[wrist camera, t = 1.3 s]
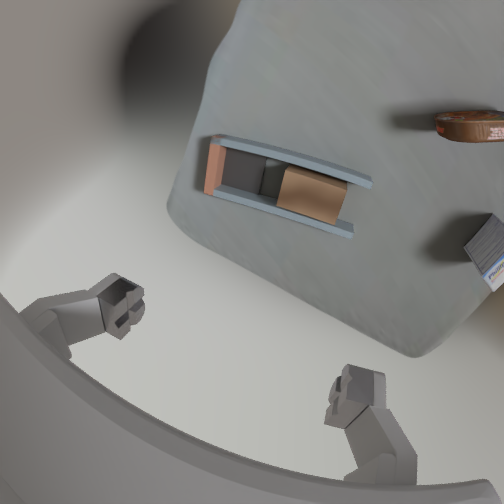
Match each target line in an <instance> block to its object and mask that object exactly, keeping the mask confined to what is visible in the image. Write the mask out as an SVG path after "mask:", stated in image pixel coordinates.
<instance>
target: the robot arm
mask: <svg viewBox="0 0 504 504" xmlns="http://www.w3.org/2000/svg"><path fill="white" fill-rule="evenodd" d="M143 296H144V289H143V288H142V287H141V286H139V285H137V284H135V283H133V282H131V281H129V280H127V279H125V278H124V277H121V276H120V275H118V274H116V273H112V274H110V275H108V276H107V277H105V278H104V279H103V280H101V281H100V282H99V283H97V284H96V285H94V286H93V287H92V288H90V289H89V290H88V291H86V290H80V291H75V292H70V293H65V294H59V295H54V296H49V297H44V298H39V299H37V300H36V301H34V302H33V303H32V304H31V305H29V306H28V307H26V308H25V309H24V310H22V311H21V312H20V313H18V312H17V311H16V310H15V309H14V308H13V307H12V306H11V304H10V303H9V302H8V301H7V300H6V299H5V298H4V297H3V295H2V294H1V293H0V504H502V503H501V500H500V498H499V496H498V494H497V492H496V490H495V489H494V487H493V485H492V484H491V483H490V482H489V480H487V479H479V480H472V481H467V482H459V483H448V484H436V485H416V483H417V454H416V452H415V450H414V449H413V447H412V445H411V444H410V442H409V440H408V439H407V437H406V435H405V434H404V433H403V431H402V429H401V427H400V426H399V424H398V422H397V421H396V419H395V417H394V416H393V414H392V413H391V411H390V409H386V378H385V374H384V373H381V372H377V371H373V370H369V369H365V368H361V367H357V366H353V365H350V364H347V365H346V366H345V367H344V368H343V370H342V376H339V377H337V378H336V380H335V382H334V383H333V385H332V388H331V390H330V394H329V402H330V404H331V405H330V406H329V407H328V409H327V410H326V416H325V422H324V424H326V425H330V426H334V427H338V428H341V429H345V430H344V431H345V434H346V436H347V439H348V442H349V444H350V447H351V450H352V453H353V455H354V458H355V461H356V463H357V466H358V469H356V470H355V471H353V472H351V473H349V474H348V475H346V476H345V477H344V481H342V480H335V479H329V478H323V477H318V476H313V475H307V474H303V473H299V472H294V471H290V470H287V469H283V468H279V467H275V466H272V465H268V464H265V463H261V462H258V461H255V460H252V459H249V458H246V457H243V456H240V455H238V454H235V453H232V452H229V451H227V450H224V449H222V448H219V447H217V446H214V445H212V444H209V443H207V442H205V441H202V440H200V439H197V438H195V437H193V436H191V435H189V434H187V433H184V432H183V431H180V430H178V429H176V428H174V427H172V426H170V425H168V424H166V423H164V422H163V421H161V420H159V419H157V418H155V417H153V416H152V415H150V414H148V413H146V412H144V411H143V410H141V409H139V408H138V407H136V406H134V405H132V404H131V403H129V402H127V401H126V400H124V399H123V398H121V397H120V396H118V395H117V394H115V393H113V392H112V391H111V390H109V389H108V388H106V387H105V386H103V385H102V384H100V383H99V382H98V381H96V380H95V379H93V378H92V377H91V376H89V375H88V374H86V373H85V372H84V371H83V370H81V369H80V368H79V367H77V366H76V365H75V364H74V363H72V362H71V361H70V360H69V359H70V358H71V357H72V355H71V352H70V349H69V347H68V346H69V345H72V344H74V343H77V342H80V341H83V340H86V339H88V338H91V337H94V336H96V335H99V334H102V333H104V332H105V331H106V332H108V333H109V334H111V335H113V336H114V337H116V338H118V339H120V340H121V339H122V338H123V337H124V336H125V335H126V334H127V333H128V332H129V331H130V326H131V325H135V324H137V323H138V322H139V321H140V320H141V318H142V316H143V314H144V311H145V303H144V301H143V300H142V297H143Z"/></svg>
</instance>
